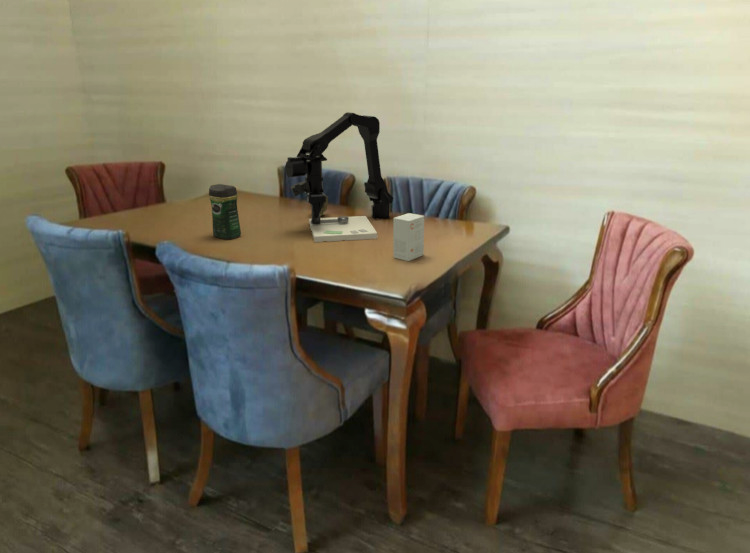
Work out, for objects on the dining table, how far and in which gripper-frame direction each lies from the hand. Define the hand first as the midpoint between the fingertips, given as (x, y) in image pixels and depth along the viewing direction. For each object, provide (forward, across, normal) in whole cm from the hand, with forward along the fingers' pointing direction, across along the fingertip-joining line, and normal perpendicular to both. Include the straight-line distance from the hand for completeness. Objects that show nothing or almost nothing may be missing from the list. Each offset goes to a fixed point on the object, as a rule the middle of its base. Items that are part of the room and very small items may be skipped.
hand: (316, 216), depth 210 cm
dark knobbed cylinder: (+2, 0, +5) cm, 6 cm away
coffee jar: (+5, +2, -32) cm, 32 cm away
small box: (+5, +37, +26) cm, 46 cm away
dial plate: (+5, +3, +9) cm, 11 cm away
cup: (+5, -21, +3) cm, 22 cm away
